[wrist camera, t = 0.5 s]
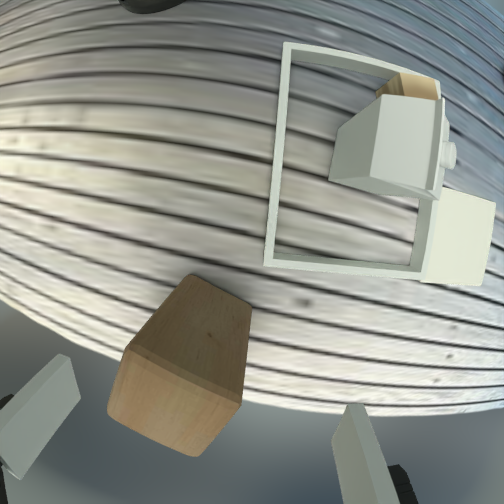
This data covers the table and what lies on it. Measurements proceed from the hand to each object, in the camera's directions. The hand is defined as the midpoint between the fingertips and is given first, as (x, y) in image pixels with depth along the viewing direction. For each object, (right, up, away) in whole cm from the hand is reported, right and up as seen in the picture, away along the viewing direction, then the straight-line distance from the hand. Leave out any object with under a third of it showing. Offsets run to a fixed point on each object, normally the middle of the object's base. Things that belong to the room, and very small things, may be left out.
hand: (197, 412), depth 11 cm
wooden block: (-4, -2, +28) cm, 29 cm away
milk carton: (+16, +19, +23) cm, 34 cm away
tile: (+34, +9, +24) cm, 43 cm away
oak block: (+22, +26, +21) cm, 40 cm away
